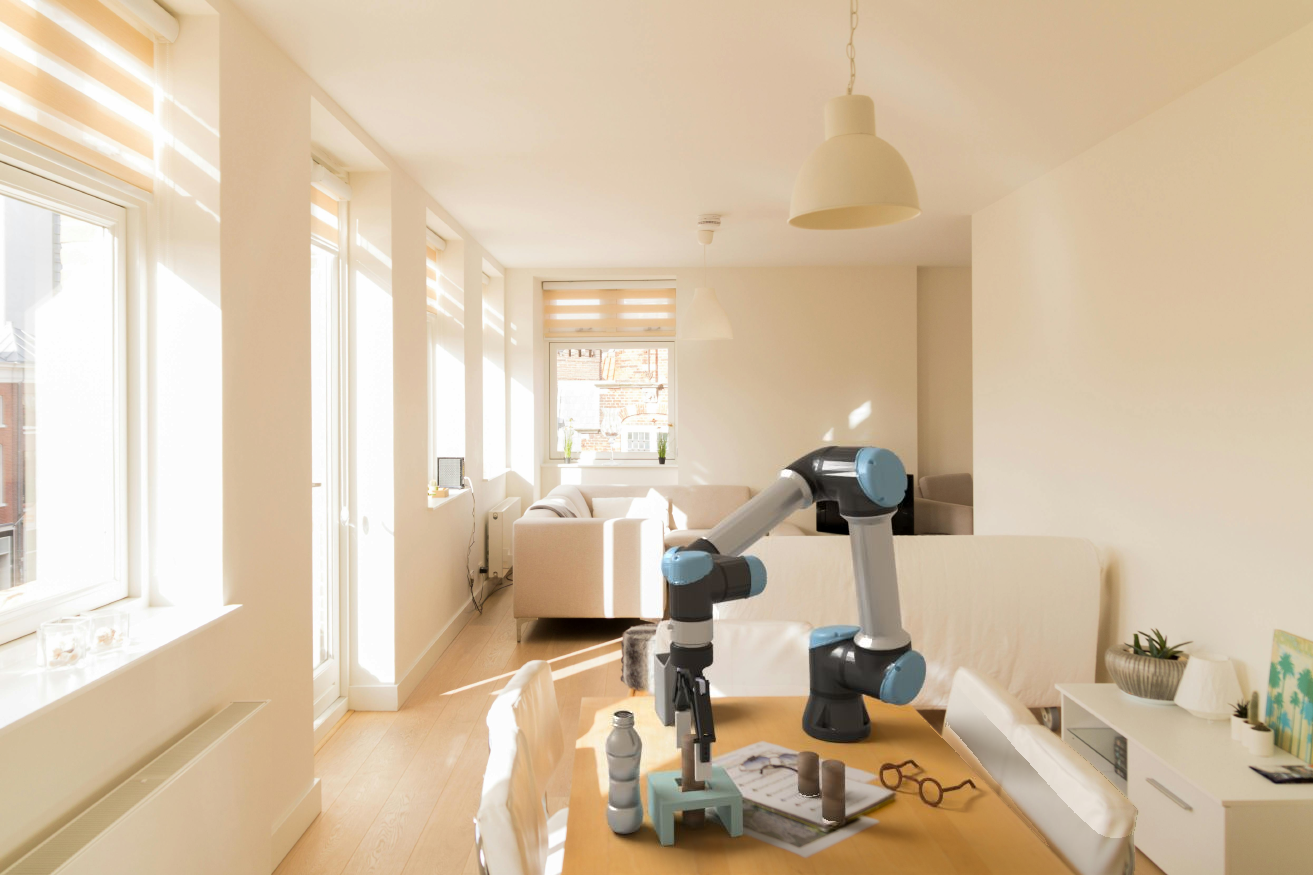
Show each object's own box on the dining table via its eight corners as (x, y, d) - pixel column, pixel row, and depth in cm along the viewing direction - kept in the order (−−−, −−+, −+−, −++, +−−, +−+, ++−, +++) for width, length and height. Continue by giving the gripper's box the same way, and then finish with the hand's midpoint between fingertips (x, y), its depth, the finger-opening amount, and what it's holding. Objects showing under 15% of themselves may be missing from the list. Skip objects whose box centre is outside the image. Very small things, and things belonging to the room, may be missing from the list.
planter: (671, 698, 204) (670, 622, 204) (699, 704, 200) (698, 626, 200) (637, 720, 190) (636, 638, 190) (666, 726, 186) (665, 642, 186)
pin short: (814, 786, 155) (814, 750, 155) (823, 795, 151) (822, 758, 151) (795, 788, 154) (794, 752, 154) (802, 798, 151) (801, 761, 150)
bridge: (722, 802, 149) (721, 764, 149) (742, 835, 138) (742, 794, 137) (647, 811, 146) (647, 773, 146) (662, 845, 135) (661, 804, 134)
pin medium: (839, 813, 145) (839, 758, 144) (849, 824, 141) (849, 767, 140) (818, 816, 144) (817, 760, 143) (827, 827, 140) (827, 770, 139)
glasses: (878, 786, 156) (877, 761, 156) (916, 767, 164) (916, 742, 164) (940, 811, 146) (940, 784, 145) (977, 789, 154) (977, 763, 154)
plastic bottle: (611, 841, 136) (609, 723, 136) (602, 822, 143) (600, 709, 142) (648, 835, 138) (646, 718, 137) (638, 816, 145) (636, 705, 144)
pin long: (701, 816, 144) (700, 732, 144) (707, 827, 140) (706, 741, 140) (679, 818, 143) (678, 734, 143) (685, 830, 140) (684, 743, 139)
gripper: (655, 625, 152) (656, 736, 153) (688, 664, 128) (690, 797, 129) (693, 622, 154) (695, 733, 155) (734, 660, 130) (735, 791, 130)
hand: (693, 762), depth 142 cm, fingers open, 13 cm apart
